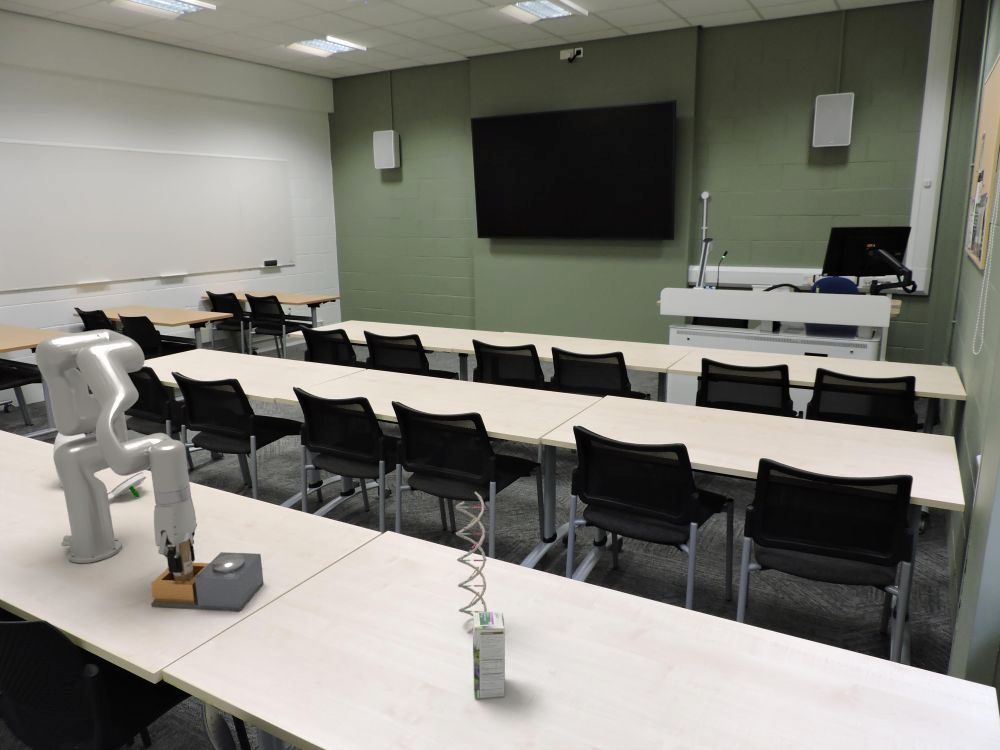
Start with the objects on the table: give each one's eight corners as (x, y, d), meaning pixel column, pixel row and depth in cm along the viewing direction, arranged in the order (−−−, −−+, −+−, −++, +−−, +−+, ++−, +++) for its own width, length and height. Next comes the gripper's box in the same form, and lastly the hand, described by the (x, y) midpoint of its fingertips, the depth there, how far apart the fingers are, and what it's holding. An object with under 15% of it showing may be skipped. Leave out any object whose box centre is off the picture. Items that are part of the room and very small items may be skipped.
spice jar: (196, 585, 164) (190, 533, 161) (175, 591, 162) (169, 538, 159) (193, 577, 168) (186, 525, 165) (172, 583, 166) (165, 530, 163)
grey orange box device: (151, 607, 160) (146, 571, 158) (186, 574, 175) (182, 541, 173) (240, 611, 158) (236, 575, 156) (268, 577, 173) (265, 544, 170)
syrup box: (473, 679, 134) (471, 611, 130) (503, 677, 134) (502, 610, 131) (474, 699, 128) (472, 629, 125) (506, 697, 129) (505, 627, 125)
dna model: (481, 636, 147) (478, 504, 140) (453, 631, 149) (449, 500, 142) (492, 619, 153) (490, 492, 146) (465, 614, 155) (462, 488, 148)
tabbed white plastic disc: (133, 484, 232) (144, 458, 228) (151, 498, 231) (163, 472, 227) (96, 502, 218) (108, 475, 214) (116, 517, 217) (128, 490, 213)
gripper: (177, 479, 168) (186, 548, 173) (134, 508, 152) (145, 584, 156) (207, 480, 168) (215, 550, 172) (167, 509, 151) (177, 585, 155)
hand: (182, 565), depth 164 cm, fingers closed on spice jar, 4 cm apart
